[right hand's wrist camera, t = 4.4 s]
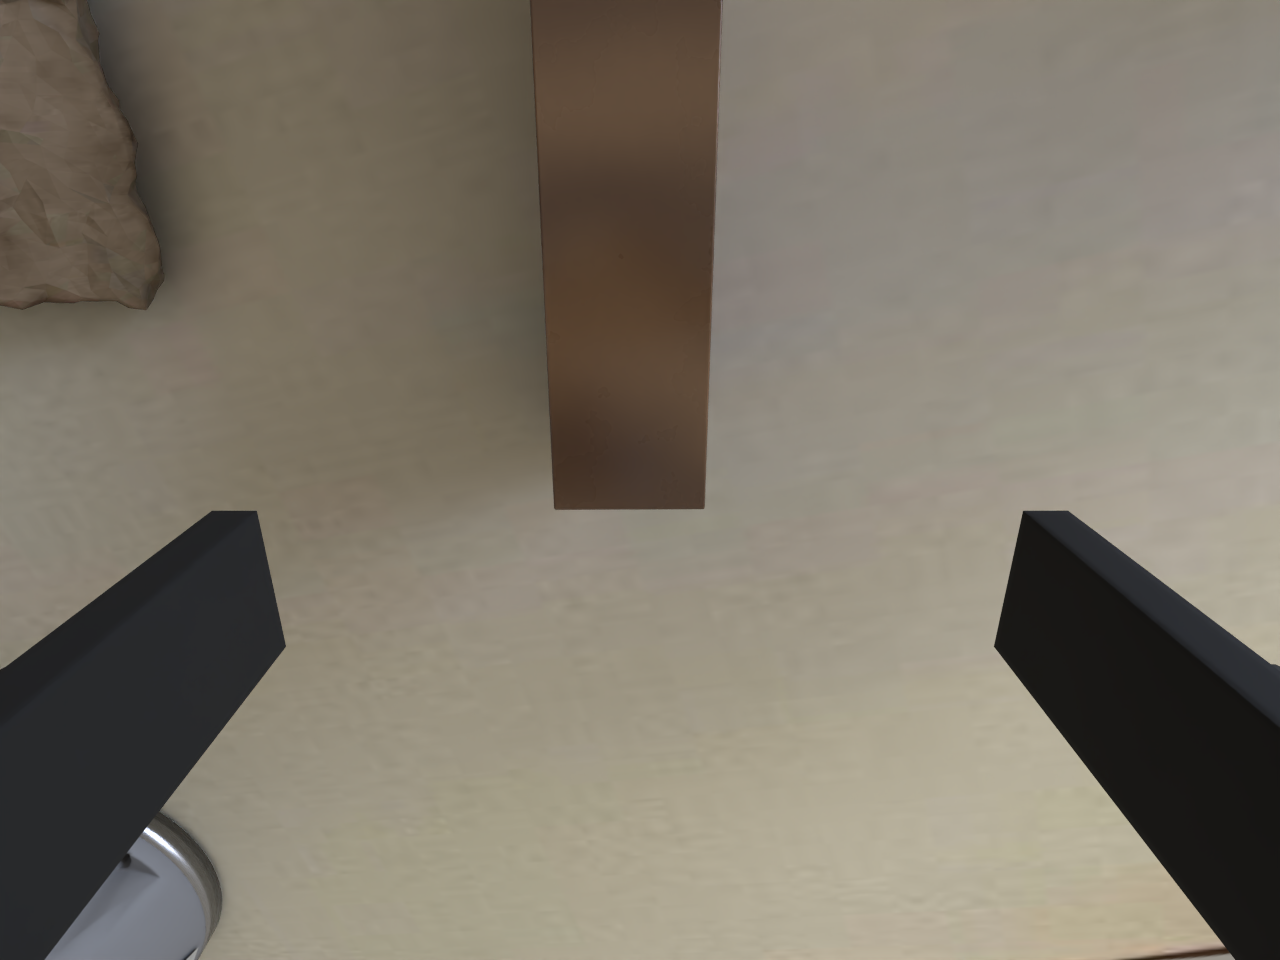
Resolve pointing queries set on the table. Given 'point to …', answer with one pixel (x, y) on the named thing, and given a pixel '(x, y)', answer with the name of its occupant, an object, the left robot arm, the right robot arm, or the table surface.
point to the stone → (67, 168)
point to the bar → (627, 244)
